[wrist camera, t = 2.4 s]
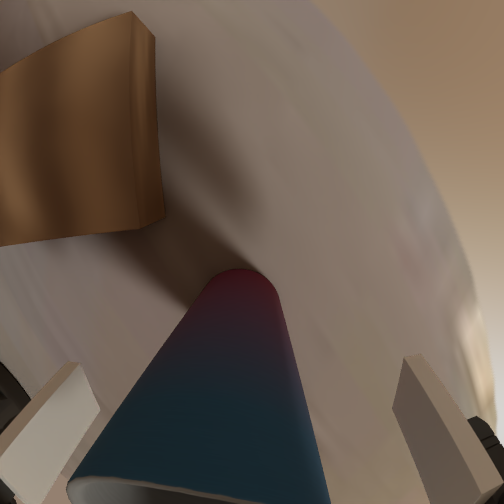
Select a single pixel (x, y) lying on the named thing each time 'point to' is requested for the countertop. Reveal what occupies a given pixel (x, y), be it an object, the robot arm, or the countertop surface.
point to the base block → (81, 136)
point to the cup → (212, 413)
